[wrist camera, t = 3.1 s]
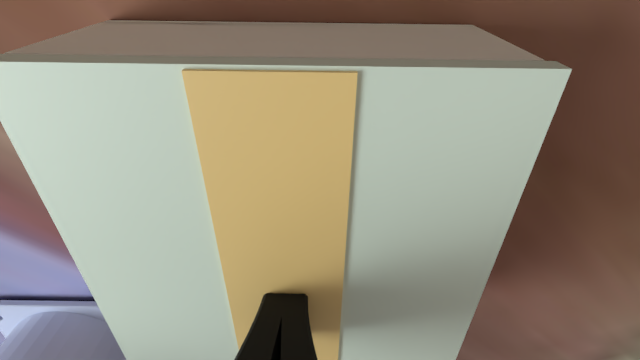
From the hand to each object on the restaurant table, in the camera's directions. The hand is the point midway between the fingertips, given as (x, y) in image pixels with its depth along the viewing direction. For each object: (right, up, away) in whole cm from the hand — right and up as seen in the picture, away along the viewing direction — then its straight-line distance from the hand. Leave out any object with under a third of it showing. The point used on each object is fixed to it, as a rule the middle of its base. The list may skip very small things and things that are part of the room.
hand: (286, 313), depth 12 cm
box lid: (0, +2, 0) cm, 2 cm away
